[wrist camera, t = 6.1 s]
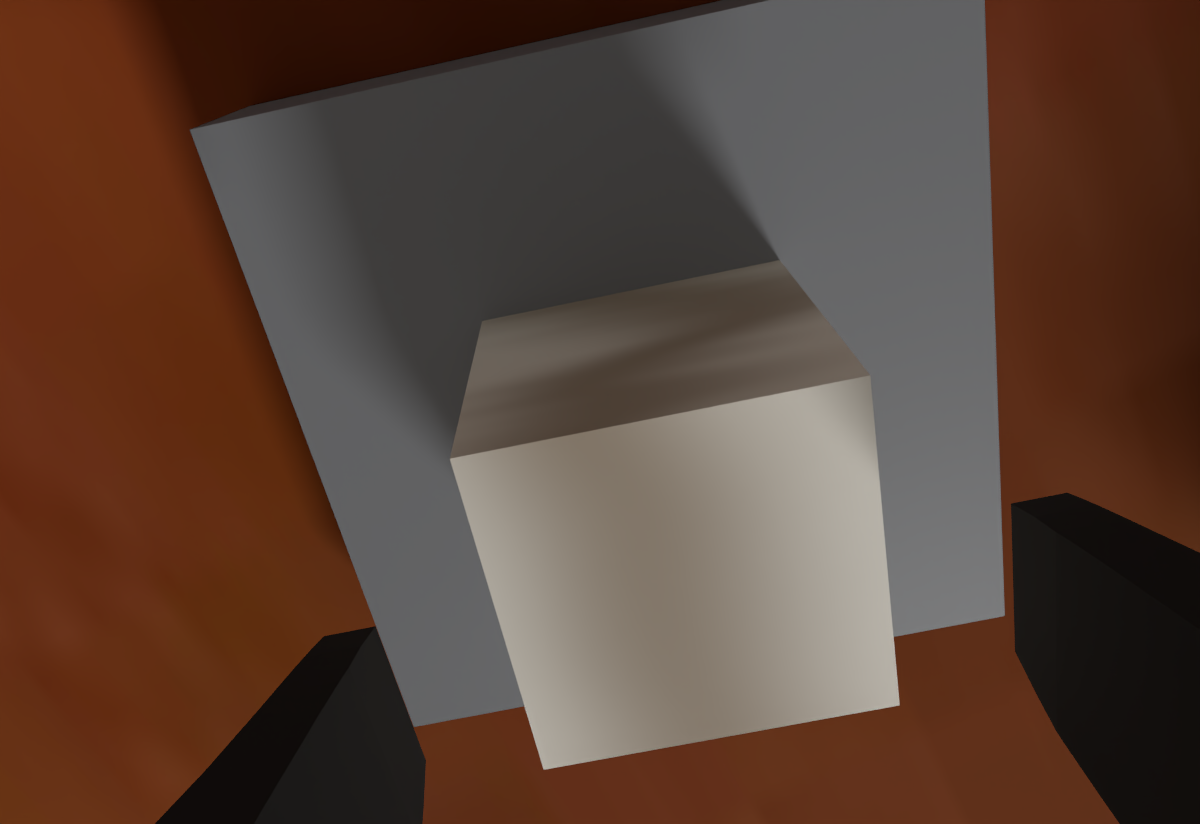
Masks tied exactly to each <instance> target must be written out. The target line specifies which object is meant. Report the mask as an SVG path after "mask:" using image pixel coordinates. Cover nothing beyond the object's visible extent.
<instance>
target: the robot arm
mask: <svg viewBox="0 0 1200 824" xmlns="http://www.w3.org/2000/svg"><path fill="white" fill-rule="evenodd" d="M1011 514H1012V551H1013V588H1014V625H1015V652H1016V654H1017V656H1018V658H1019V660H1020V662H1021V664H1022V666H1023V668H1024V670H1025V672H1026V674H1027V676H1028V678H1029V680H1030V682H1031V684H1032V686H1033V688H1034V690H1035V692H1036V694H1037V696H1038V698H1039V699H1040V701H1041V703H1042V705H1043V707H1044V709H1045V711H1046V713H1047V714H1048V716H1049V718H1050V720H1051V722H1052V724H1053V726H1054V728H1055V729H1056V731H1057V733H1058V734H1059V736H1060V737H1061V739H1062V740H1063V742H1064V743H1065V745H1066V746H1067V748H1068V749H1069V751H1070V752H1071V754H1072V755H1073V757H1074V758H1075V760H1076V761H1077V763H1078V764H1079V765H1080V767H1081V768H1082V770H1083V771H1084V773H1085V774H1086V776H1087V777H1088V779H1089V780H1090V782H1091V783H1092V784H1093V786H1094V787H1095V789H1096V790H1097V792H1098V793H1099V795H1100V796H1101V798H1102V799H1103V800H1104V802H1105V803H1106V805H1107V806H1108V808H1109V809H1110V810H1111V812H1112V813H1113V815H1114V816H1115V818H1116V819H1117V821H1118V822H1119V823H1120V824H1200V553H1199V552H1197V551H1195V550H1192V549H1190V548H1188V547H1186V546H1184V545H1182V544H1180V543H1177V542H1175V541H1173V540H1171V539H1169V538H1167V537H1165V536H1162V535H1160V534H1158V533H1156V532H1154V531H1152V530H1150V529H1148V528H1145V527H1143V526H1141V525H1139V524H1137V523H1135V522H1133V521H1131V520H1128V519H1126V518H1124V517H1122V516H1120V515H1118V514H1115V513H1113V512H1111V511H1109V510H1107V509H1105V508H1102V507H1100V506H1098V505H1096V504H1093V503H1091V502H1089V501H1086V500H1084V499H1082V498H1079V497H1077V496H1074V495H1072V494H1069V493H1064V494H1059V495H1054V496H1048V497H1043V498H1038V499H1033V500H1028V501H1023V502H1017V503H1012V504H1011ZM425 764H426V760H425V757H424V755H423V752H422V749H421V747H420V744H419V741H418V739H417V736H416V733H415V731H414V728H413V725H412V723H411V720H410V717H409V715H408V712H407V709H406V707H405V704H404V701H403V699H402V696H401V693H400V691H399V688H398V685H397V683H396V680H395V677H394V675H393V672H392V669H391V667H390V664H389V661H388V659H387V656H386V653H385V651H384V648H383V645H382V643H381V640H380V637H379V635H378V632H377V629H376V627H370V628H365V629H360V630H355V631H350V632H344V633H339V634H334V635H329V636H324V637H323V638H322V639H321V640H320V641H319V642H318V643H317V644H316V645H315V646H314V647H313V648H312V649H311V650H310V651H309V653H308V654H307V655H306V656H305V657H304V658H303V659H302V660H301V661H300V663H299V664H298V665H297V666H296V667H295V668H294V669H293V671H292V672H291V673H290V674H289V675H288V676H287V678H286V679H285V680H284V681H283V682H282V683H281V684H280V686H279V687H278V688H277V689H276V690H275V691H274V693H273V694H272V695H271V696H270V697H269V698H268V700H267V701H266V702H265V703H264V704H263V705H262V707H261V708H260V709H259V710H258V711H257V712H256V714H255V715H254V716H253V717H252V718H251V719H250V720H249V722H248V723H247V724H246V725H245V726H244V727H243V728H242V730H241V731H240V732H239V733H238V734H237V735H236V736H235V738H234V739H233V740H232V741H231V742H230V743H229V744H228V745H227V747H226V748H225V749H224V750H223V751H222V752H221V753H220V755H219V756H218V757H217V758H216V759H215V760H214V761H213V763H212V764H211V765H210V766H209V767H208V768H207V769H206V770H205V772H204V773H203V774H202V775H201V776H200V777H199V778H198V779H197V780H196V781H195V782H194V783H193V784H192V785H191V786H190V787H189V789H188V790H187V791H186V792H185V793H184V794H183V795H182V796H181V797H180V798H179V799H178V800H177V801H176V802H175V803H174V804H173V805H172V806H171V807H170V809H169V810H168V811H167V812H166V813H165V814H164V815H163V816H162V817H161V818H160V819H159V820H158V821H157V822H156V823H155V824H422V820H423V806H424V785H425Z"/></svg>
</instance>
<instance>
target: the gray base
mask: <svg viewBox="0 0 1200 824" xmlns="http://www.w3.org/2000/svg"><path fill="white" fill-rule="evenodd" d="M190 132H191V134H192V137H193V140H194V142H195V145H196V148H197V150H198V153H199V156H200V158H201V161H202V164H203V166H204V169H205V172H206V174H207V177H208V180H209V182H210V185H211V188H212V190H213V193H214V196H215V198H216V201H217V204H218V206H219V209H220V212H221V214H222V217H223V220H224V222H225V225H226V228H227V230H228V233H229V236H230V238H231V241H232V244H233V246H234V249H235V251H236V254H237V257H238V259H239V262H240V265H241V267H242V270H243V273H244V275H245V278H246V281H247V283H248V286H249V289H250V291H251V294H252V297H253V299H254V302H255V305H256V307H257V310H258V313H259V315H260V318H261V321H262V323H263V326H264V329H265V331H266V334H267V337H268V339H269V342H270V345H271V347H272V350H273V353H274V355H275V358H276V361H277V363H278V366H279V369H280V371H281V374H282V377H283V379H284V382H285V385H286V387H287V390H288V393H289V395H290V398H291V401H292V403H293V406H294V409H295V411H296V414H297V417H298V419H299V422H300V425H301V427H302V430H303V433H304V435H305V438H306V440H307V443H308V446H309V448H310V451H311V454H312V456H313V459H314V462H315V464H316V467H317V470H318V472H319V475H320V478H321V480H322V483H323V486H324V488H325V491H326V494H327V496H328V499H329V502H330V504H331V507H332V510H333V512H334V515H335V518H336V520H337V523H338V526H339V528H340V531H341V534H342V536H343V539H344V542H345V544H346V547H347V550H348V552H349V555H350V558H351V560H352V563H353V566H354V568H355V571H356V574H357V576H358V579H359V582H360V584H361V587H362V590H363V592H364V595H365V598H366V600H367V603H368V606H369V608H370V611H371V614H372V616H373V619H374V622H375V624H376V627H377V629H378V632H379V635H380V637H381V640H382V643H383V645H384V648H385V651H386V653H387V656H388V659H389V661H390V664H391V667H392V669H393V672H394V675H395V677H396V680H397V683H398V685H399V688H400V691H401V693H402V696H403V699H404V701H405V704H406V707H407V709H408V712H409V715H410V717H411V720H412V723H413V725H414V727H416V726H421V725H427V724H432V723H437V722H443V721H448V720H453V719H459V718H464V717H469V716H474V715H480V714H485V713H490V712H496V711H501V710H506V709H512V708H517V707H522V706H524V703H523V699H522V696H521V693H520V689H519V686H518V683H517V680H516V676H515V673H514V670H513V666H512V663H511V660H510V656H509V653H508V650H507V647H506V643H505V640H504V637H503V633H502V630H501V627H500V623H499V620H498V617H497V613H496V610H495V607H494V604H493V600H492V597H491V594H490V590H489V587H488V584H487V580H486V577H485V574H484V570H483V567H482V564H481V561H480V557H479V554H478V551H477V547H476V544H475V541H474V537H473V534H472V531H471V527H470V524H469V521H468V518H467V514H466V511H465V508H464V504H463V501H462V498H461V494H460V491H459V488H458V485H457V481H456V478H455V475H454V471H453V468H452V465H451V461H450V455H451V451H452V447H453V443H454V438H455V434H456V430H457V426H458V421H459V417H460V413H461V409H462V404H463V400H464V396H465V392H466V387H467V383H468V379H469V375H470V370H471V366H472V362H473V358H474V353H475V349H476V345H477V341H478V336H479V332H480V328H481V324H482V321H485V320H490V319H495V318H499V317H504V316H509V315H514V314H519V313H524V312H529V311H534V310H538V309H543V308H548V307H553V306H558V305H563V304H568V303H573V302H577V301H582V300H587V299H592V298H597V297H602V296H607V295H612V294H616V293H621V292H626V291H631V290H636V289H641V288H646V287H650V286H655V285H660V284H665V283H670V282H675V281H680V280H685V279H689V278H694V277H699V276H704V275H709V274H714V273H719V272H724V271H728V270H733V269H738V268H743V267H748V266H753V265H758V264H763V263H767V262H772V261H777V260H780V261H781V262H782V264H783V265H784V266H785V267H786V269H787V270H788V271H789V273H790V274H791V275H792V276H793V278H794V279H795V280H796V281H797V283H798V284H799V285H800V287H801V288H802V289H803V290H804V292H805V293H806V294H807V295H808V297H809V298H810V299H811V301H812V302H813V303H814V304H815V306H816V307H817V308H818V309H819V311H820V312H821V313H822V315H823V316H824V317H825V318H826V320H827V321H828V322H829V323H830V325H831V326H832V327H833V329H834V330H835V331H836V332H837V334H838V335H839V336H840V337H841V339H842V340H843V341H844V343H845V344H846V345H847V346H848V348H849V349H850V350H851V351H852V353H853V354H854V355H855V357H856V358H857V359H858V360H859V362H860V363H861V364H862V365H863V367H864V368H865V369H866V371H867V372H868V373H869V374H870V377H871V389H872V400H873V411H874V422H875V434H876V445H877V456H878V468H879V479H880V490H881V502H882V513H883V524H884V535H885V547H886V558H887V569H888V581H889V592H890V603H891V614H892V626H893V637H895V636H900V635H906V634H911V633H916V632H922V631H927V630H932V629H937V628H943V627H948V626H953V625H959V624H964V623H969V622H975V621H980V620H985V619H991V618H996V617H1001V616H1005V613H1004V583H1003V552H1002V521H1001V490H1000V460H999V429H998V398H997V367H996V337H995V306H994V275H993V244H992V214H991V183H990V152H989V121H988V91H987V60H986V29H985V0H721V1H716V2H712V3H707V4H703V5H699V6H694V7H690V8H685V9H681V10H676V11H672V12H667V13H663V14H658V15H654V16H649V17H645V18H641V19H636V20H632V21H627V22H623V23H618V24H614V25H609V26H605V27H600V28H596V29H591V30H587V31H582V32H578V33H574V34H569V35H565V36H560V37H556V38H551V39H547V40H542V41H538V42H533V43H529V44H524V45H520V46H516V47H511V48H507V49H502V50H498V51H493V52H489V53H484V54H480V55H475V56H471V57H466V58H462V59H458V60H453V61H449V62H444V63H440V64H435V65H431V66H426V67H422V68H417V69H413V70H408V71H404V72H400V73H395V74H391V75H386V76H382V77H377V78H373V79H368V80H364V81H359V82H355V83H350V84H346V85H342V86H337V87H333V88H328V89H324V90H319V91H315V92H310V93H306V94H301V95H297V96H292V97H288V98H284V99H279V100H275V101H270V102H266V103H261V104H257V105H252V106H248V107H246V108H243V109H241V110H238V111H236V112H233V113H231V114H228V115H226V116H223V117H221V118H218V119H216V120H213V121H211V122H208V123H205V124H203V125H200V126H198V127H195V128H193V129H190Z"/></svg>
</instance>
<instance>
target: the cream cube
mask: <svg viewBox="0 0 1200 824" xmlns="http://www.w3.org/2000/svg"><path fill="white" fill-rule="evenodd" d="M450 461H451V465H452V468H453V471H454V475H455V478H456V481H457V485H458V488H459V491H460V494H461V498H462V501H463V504H464V508H465V511H466V514H467V518H468V521H469V524H470V527H471V531H472V534H473V537H474V541H475V544H476V547H477V551H478V554H479V557H480V561H481V564H482V567H483V570H484V574H485V577H486V580H487V584H488V587H489V590H490V594H491V597H492V600H493V604H494V607H495V610H496V613H497V617H498V620H499V623H500V627H501V630H502V633H503V637H504V640H505V643H506V647H507V650H508V653H509V656H510V660H511V663H512V666H513V670H514V673H515V676H516V680H517V683H518V686H519V689H520V693H521V696H522V699H523V703H524V706H525V709H526V713H527V716H528V719H529V723H530V726H531V729H532V732H533V736H534V739H535V742H536V746H537V749H538V752H539V756H540V759H541V762H542V766H543V769H544V770H545V769H550V768H556V767H561V766H567V765H572V764H578V763H583V762H589V761H594V760H600V759H605V758H611V757H616V756H622V755H628V754H633V753H639V752H644V751H650V750H655V749H661V748H666V747H672V746H677V745H683V744H688V743H694V742H699V741H705V740H710V739H716V738H721V737H727V736H733V735H738V734H744V733H749V732H755V731H760V730H766V729H771V728H777V727H782V726H788V725H793V724H799V723H804V722H810V721H815V720H821V719H827V718H832V717H838V716H843V715H849V714H854V713H860V712H865V711H871V710H876V709H882V708H887V707H893V706H898V705H899V694H898V682H897V671H896V660H895V648H894V637H893V626H892V614H891V603H890V592H889V581H888V569H887V558H886V547H885V535H884V524H883V513H882V502H881V490H880V479H879V468H878V456H877V445H876V434H875V422H874V411H873V400H872V389H871V377H870V374H869V373H868V372H867V371H866V369H865V368H864V367H863V365H862V364H861V363H860V362H859V360H858V359H857V358H856V357H855V355H854V354H853V353H852V351H851V350H850V349H849V348H848V346H847V345H846V344H845V343H844V341H843V340H842V339H841V337H840V336H839V335H838V334H837V332H836V331H835V330H834V329H833V327H832V326H831V325H830V323H829V322H828V321H827V320H826V318H825V317H824V316H823V315H822V313H821V312H820V311H819V309H818V308H817V307H816V306H815V304H814V303H813V302H812V301H811V299H810V298H809V297H808V295H807V294H806V293H805V292H804V290H803V289H802V288H801V287H800V285H799V284H798V283H797V281H796V280H795V279H794V278H793V276H792V275H791V274H790V273H789V271H788V270H787V269H786V267H785V266H784V265H783V264H782V262H781V261H780V260H777V261H772V262H767V263H763V264H758V265H753V266H748V267H743V268H738V269H733V270H728V271H724V272H719V273H714V274H709V275H704V276H699V277H694V278H689V279H685V280H680V281H675V282H670V283H665V284H660V285H655V286H650V287H646V288H641V289H636V290H631V291H626V292H621V293H616V294H612V295H607V296H602V297H597V298H592V299H587V300H582V301H577V302H573V303H568V304H563V305H558V306H553V307H548V308H543V309H538V310H534V311H529V312H524V313H519V314H514V315H509V316H504V317H499V318H495V319H490V320H485V321H482V324H481V328H480V332H479V336H478V341H477V345H476V349H475V353H474V358H473V362H472V366H471V370H470V375H469V379H468V383H467V387H466V392H465V396H464V400H463V404H462V409H461V413H460V417H459V421H458V426H457V430H456V434H455V438H454V443H453V447H452V451H451V455H450Z"/></svg>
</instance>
